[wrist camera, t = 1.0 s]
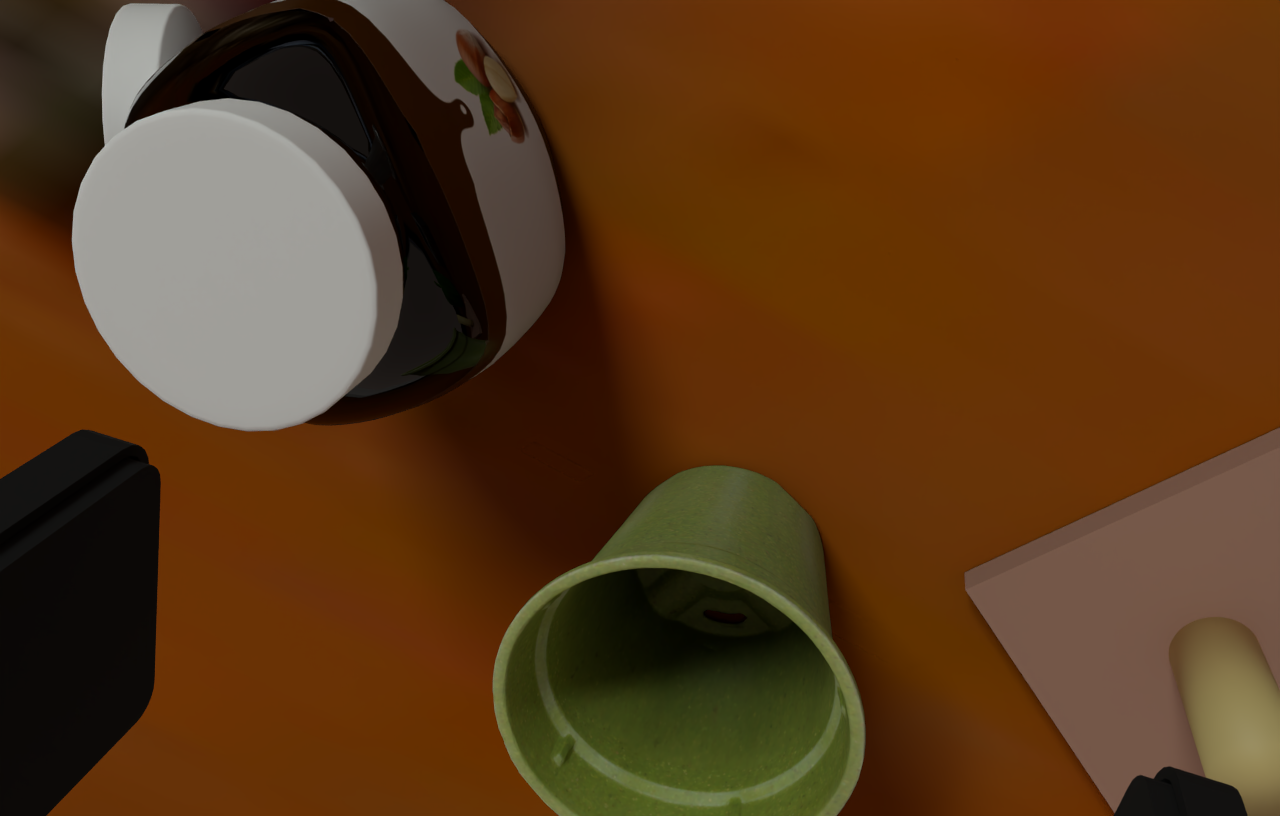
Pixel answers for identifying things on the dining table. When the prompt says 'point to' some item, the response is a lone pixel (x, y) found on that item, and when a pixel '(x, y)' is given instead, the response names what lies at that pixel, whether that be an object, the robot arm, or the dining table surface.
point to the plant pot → (686, 665)
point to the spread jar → (313, 209)
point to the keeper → (1158, 627)
